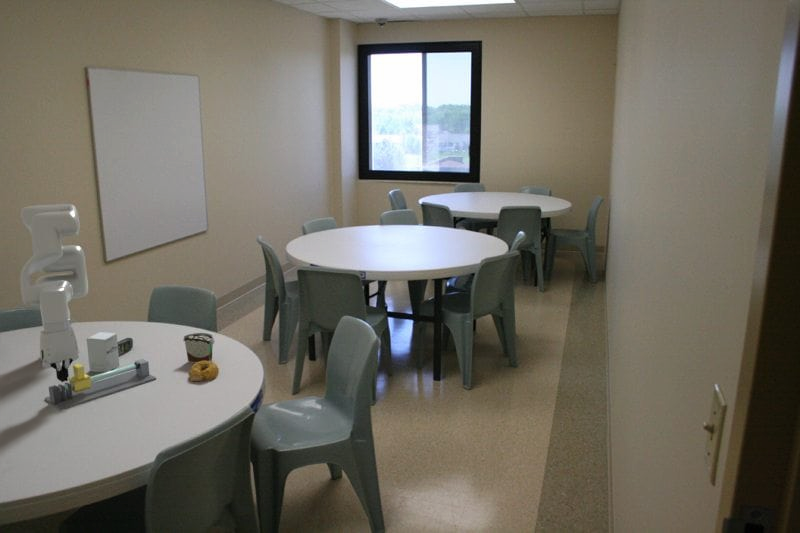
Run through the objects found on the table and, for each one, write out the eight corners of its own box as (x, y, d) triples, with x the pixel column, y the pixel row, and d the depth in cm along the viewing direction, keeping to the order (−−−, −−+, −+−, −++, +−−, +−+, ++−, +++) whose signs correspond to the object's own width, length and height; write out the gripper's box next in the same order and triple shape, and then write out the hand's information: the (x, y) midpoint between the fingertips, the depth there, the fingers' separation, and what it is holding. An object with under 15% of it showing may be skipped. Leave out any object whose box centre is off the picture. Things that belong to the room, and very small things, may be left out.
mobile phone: (111, 349, 238) (135, 335, 252) (104, 348, 238) (129, 334, 253) (112, 361, 239) (137, 346, 253) (105, 360, 240) (130, 346, 254)
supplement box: (107, 373, 227) (104, 339, 224) (89, 371, 229) (85, 338, 226) (120, 365, 234) (117, 333, 231) (102, 363, 236) (99, 331, 233)
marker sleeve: (70, 389, 208) (67, 366, 206) (85, 384, 211) (83, 362, 210) (75, 392, 205) (73, 369, 203) (91, 387, 209) (88, 365, 207)
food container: (222, 359, 241) (221, 334, 239) (212, 365, 235) (211, 339, 233) (195, 355, 245) (193, 330, 242) (184, 361, 239) (183, 335, 237)
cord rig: (44, 399, 206) (42, 383, 205) (138, 370, 230) (137, 355, 229) (61, 410, 198) (58, 393, 197) (156, 379, 222) (154, 364, 221)
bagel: (181, 379, 223) (181, 366, 222) (203, 369, 232) (202, 356, 231) (204, 385, 219) (203, 372, 218) (225, 374, 228) (224, 361, 227)
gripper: (75, 317, 207) (81, 370, 212) (26, 329, 196) (33, 384, 200) (86, 322, 203) (92, 376, 207) (36, 334, 191) (43, 391, 196)
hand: (63, 380), depth 204 cm, fingers closed
